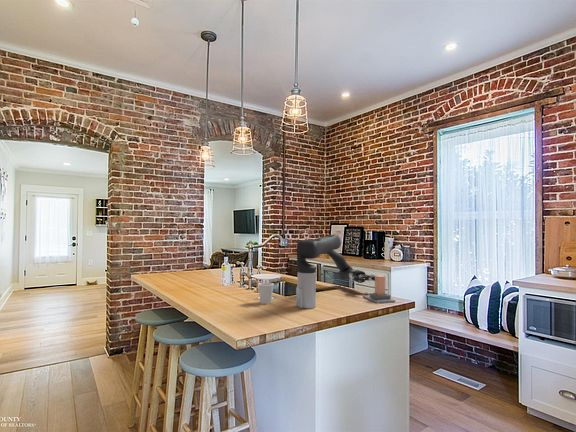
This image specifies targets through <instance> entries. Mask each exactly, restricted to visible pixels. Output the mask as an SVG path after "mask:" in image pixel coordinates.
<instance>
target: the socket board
mask: <svg viewBox="0 0 576 432" xmlns="http://www.w3.org/2000/svg"><path fill="white" fill-rule="evenodd" d="M391 297H392V296H391V294H387V293H385V295H380V296H378V295H375V292H369V295H362V298H363V299H366V300H368V301H371V302H373V303H375V304H388V303H396V300H395V299H392V298H391Z"/></svg>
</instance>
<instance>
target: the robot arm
mask: <svg viewBox="0 0 576 432" xmlns="http://www.w3.org/2000/svg"><path fill="white" fill-rule="evenodd" d="M341 244H342V240H341V237H340V236H339V235H338V234H331V235H330V234H329V235H324V236H321V237H318V238H315V239H314V240H311V239H308V240H307V239H306V240H305V239H301V240H300V239H299V240H298V242H297V244H296V267H297V286H296V288H295V306H296V307H297V308H299V309H314V308H316V305H317V297H316V296H317V294H316V293H317V292H316V291H317V289H316V287H317V268H316V265H313V264H311V263H309V262H308V261H307V260H308V259H309V260H311V259H312V260H313V259H317V258H318V257H320V256H321V255H324V254H327V255H328V256H329V257H330V258H331V260H332V261H333V262H334V264H335V266H336V268H337V269H338V270H339V271H338V273H337V274H338V278H340V279H341V280H343V281H349V280H351V281H353V282H356V283H358V284H362V283H366V282H371V281H373V282H375V276H376V275H373V274H367V273H366V272H364V270H359V269H354V268H353V267H352V266H351V265H349V263H348V262H347V260H346V259H345V256H343V255H342V254H341V253H340V252H338V251H336V250H338V249H340V247H341V246H342V245H341Z"/></svg>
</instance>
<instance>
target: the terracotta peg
mask: <svg viewBox="0 0 576 432" xmlns="http://www.w3.org/2000/svg"><path fill="white" fill-rule="evenodd" d="M374 276H375V281H374V293H375V295H378V296H380V295H385V294H386V276H384V275H374Z"/></svg>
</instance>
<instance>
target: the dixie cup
mask: <svg viewBox="0 0 576 432" xmlns="http://www.w3.org/2000/svg"><path fill="white" fill-rule="evenodd" d="M257 285H258V292H259V293H258V294H259V301H260V304H261V305H270V304H271V303H272V300H273V299H272V297H273V291H274V286H275V285H274V282H269V281H267V282H264V281H263V282H259V283H257Z"/></svg>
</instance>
